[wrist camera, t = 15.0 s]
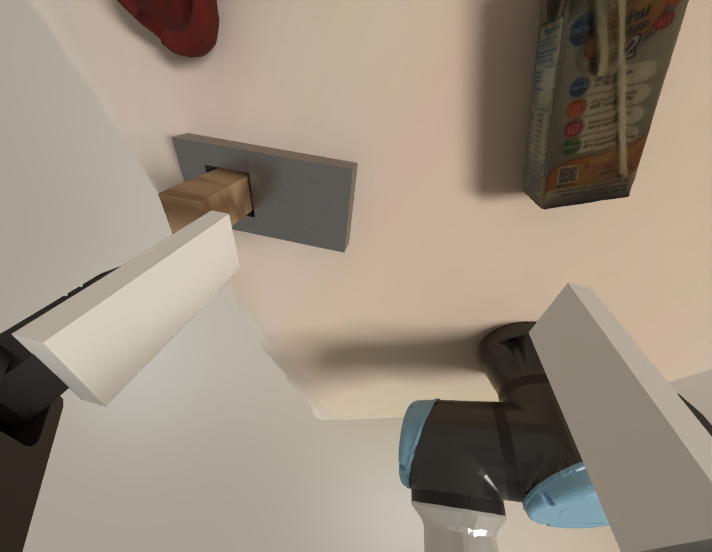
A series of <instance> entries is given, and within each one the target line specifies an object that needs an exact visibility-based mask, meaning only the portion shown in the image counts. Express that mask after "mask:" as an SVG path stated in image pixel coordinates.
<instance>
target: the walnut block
mask: <svg viewBox="0 0 712 552" xmlns="http://www.w3.org/2000/svg"><path fill="white" fill-rule="evenodd" d="M158 194H159V197H160V200H161V203H162V205H163V208H164V211H165V214H166V216H167V219H168V222H169V225H170V228H171V230H172V233H173V234H174V233H176V232H177V231H179V230H181V229H182V228H184V227H186V226H187V225H189V224H190V223H192V222H194V221H195V220H197V219H199V218H200V217H202V216H203V215H205V214H207V213H208V212H210V211H217V212H222V213H227V214H229V216H230V221H231V226H233V225H234V224H235V223H237V222H238V221H239V220H241V219H242V218H243V217H245V216H246V215H247V214H249V213H250V212H251V211H252V210H254V207H253V199H252V192H251V184H250V177H249V173H246V172H241V171H235V170H230V169H225V168H217V169H214V170H212V171H210V172H207V173H205V174H203V175H200V176H198V177H196V178H193V179H191V180H189V181H186V182H184V183H182V184H179V185H177V186H175V187H172V188H170V189H168V190H165V191H163V192H161V193H158Z"/></svg>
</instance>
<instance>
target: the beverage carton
mask: <svg viewBox="0 0 712 552" xmlns="http://www.w3.org/2000/svg"><path fill="white" fill-rule="evenodd" d="M688 1H689V0H541V14H540V25H539V35H538V45H537V54H536V65H535V76H534V86H533V96H532V106H531V115H530V125H529V136H528V146H527V158H526V170H525V187H524V192H525V193H526V194H527V195H528V196H529V197H530V198H531V199H532V200H533V201H534V202H535V203H536V204H537V205H538V206H540V208H542V209H549V208H555V207H561V206H570V205H577V204H584V203H590V202H595V201H600V200H609V199H616V198H623V197H628V196H629V193H630V190H631V186H632V184H633V182H634V179H635V176H636V172H637V169H638V165H639V162H640V159H641V156H642V152H643V149H644V146H645V143H646V139H647V136H648V133H649V130H650V126H651V123H652V119H653V115H654V112H655V109H656V106H657V102H658V99H659V96H660V92H661V89H662V86H663V83H664V79H665V76H666V73H667V70H668V67H669V64H670V60H671V57H672V53H673V50H674V47H675V44H676V41H677V37H678V34H679V31H680V28H681V24H682V21H683V18H684V14H685V11H686V7H687V4H688Z"/></svg>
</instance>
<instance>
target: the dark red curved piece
mask: <svg viewBox="0 0 712 552" xmlns="http://www.w3.org/2000/svg"><path fill="white" fill-rule="evenodd" d="M117 1H118V2H119V3H120V4H121V5H122V6H123V7H124V8H125V9H126V10H127V11H128V12H129V13H130V14H132V15H133V16H134V17H135V18H136V19H137V20H138V21H139V22H140V23H141V24H142V25H143V26H145V27H146V28H148V29H149V30H150V31H152V32H153V33H154V34H155V35H157V36H158V37H159V38H160V39H161V42H162V44H163V45H165V46H166V47H167V48H168V49H170V50H171V51H172V52H174V53H176V54H178V55H182V56H187V57H201V56H204V55H205V54H207V53H208V52H209V51H210V50H211V49H212V48H213V47H214V45H215V44H216V40H217V35H218V28H219V15H218V8H217V0H117Z"/></svg>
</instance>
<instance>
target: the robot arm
mask: <svg viewBox="0 0 712 552" xmlns="http://www.w3.org/2000/svg"><path fill="white" fill-rule="evenodd" d="M239 269H240V266H239V261H238V256H237V251H236V246H235V241H234V236H233V231H232V226H231V221H230V216H229V214H227V213H222V212H217V211H210V212H208V213H207V214H205V215H203V216H202V217H200V218H199V219H197V220H195V221H194V222H192V223H190V224H189V225H187V226H186V227H184V228H182V229H181V230H179V231H177V232H176V233H174V234H173V235H171V236H169V237H168V238H166V239H165V240H163V241H161V242H160V243H158V244H156V245H155V246H153V247H152V248H150V249H148V250H147V251H145V252H144V253H142V254H140V255H139V256H137V257H135V258H134V259H132V260H131V261H129V262H127V263H126V264H124V265H123V266H120V267H117V268H115V269H112V270H109V271H107V272H104V273H102V274H99V275H98V276H96V277H94V278H93V279H91V280H89V281H88V282H86V283H85V284H83V286H82V287H78V288H76V289H74V290H73V291H71V292H69V293H68V296H63V297H61V298H59V299H58V300H56V301H54V302H53V303H51V304H49V305H48V306H46V307H45V308H43V309H41V310H40V311H38V312H36V313H35V314H33V315H31V316H30V317H28V318H26V319H25V320H23V321H21V322H20V323H18V324H16V325H15V326H13V327H11V328H10V329H8V330H6V331H5V332H3V333H1V334H0V552H22V551H23V548H24V544H25V540H26V537H27V533H28V530H29V526H30V523H31V519H32V515H33V512H34V508H35V505H36V501H37V498H38V494H39V491H40V487H41V484H42V480H43V476H44V473H45V469H46V466H47V462H48V459H49V455H50V452H51V448H52V444H53V441H54V437H55V433H56V430H57V427H58V423H59V419H60V415H61V412H62V409H63V398H61V397H60V395H61V394H62V393H64V392H65V391H66V390H67V389H68V388H70V390H72V391H73V392H74V393H75V394H76V395H77V396H78V397H79V398H80V399H82V400H85V401H88V402H92V403H95V404H99V405H102V406H107V405H108V404H109V403H110V402H111V401H112V400H113V399H114V398H115V397H116V396H117V395H118V394H119V393H120V391H121V390H122V389H123V388H124V387H125V386H126V385H127V384H128V383H129V382H130V381H131V380H132V379H133V378H134V377H135V376H136V375H137V374H138V373H139V372H140V371H141V370H142V369H143V368H144V367H145V366H146V365H147V364H148V363H149V362H150V361H151V359H152V358H153V357H155V355H156V354H157V353H158V352H159V351H160V350H161V349H162V348H163V347H164V346H165V345H166V344H167V343H168V342H169V341H170V340H171V339H172V338H173V337H174V336H175V335H176V334H177V333H178V332H179V331H180V330H181V329H182V328H183V327H184V325H186V324H187V322H188V321H189V320H190V319H191V318H192V317H193V316H194V315H195V314H196V313H197V312H198V311H199V310H200V309H201V308H202V307H203V306H204V305H205V304H206V303H207V302H208V301H209V300H210V299H211V298H212V297H213V295H215V294H216V292H218V291H219V289H220V288H221V287H222V286H223V285H224V284H225V283H226V282H227V281H228V280H229V279H230V278H231V277H232V276H233V275H234V274H235V273H236V272H237V271H238V270H239ZM478 357H479V362H480V366H481V368H482V370H483V371H484V373H485V374H486V376H487V377H488V379H489V381H490V383H491V384H492V386H493V387H494V389H495V391H496V392H497V394H498V397H499V401H500V402H488V401H455V400H440V399H434V400H418V401H414V402H413V403H411V404H410V406H409V407H408V409H407V411H406V413H405V416H404V419H403V424H402V429H401V435H400V443H399V462H400V464H399V474H400V479H401V482H402V484H403V485H405V486H406V487H407V488H411V490H412V505H413V507H414V508H415V510H416V511H417V513H418V514H419V515H420V517H421V519H422V521H423V523H424V546H425V552H498V546H497V540H496V535H497V532H498V530H499V529H500V528H501V526H502V525H503V523H504V522H505V521H506V514H505V508H504V503H503V501H504V500H509V501H516V502H522V503H523V508H524V510H525V511H526V513H527V515H528V516H529V518H530V519H532V520H533V521H535V522H537V523H539V524H546V525H548V526H551V527H558V528H592V527H601V526H607V525H610V527H611V529H612V532H613V534H614V536H615V539H616V541H617V543H618V546H619V548H620V551H621V552H712V425H711V424H710V423H709V422H708V420H707V419H706V418H705V417H704V416H703V415H702V414H701V413H700V412H699V411H698V410H696V409H695V408H694V407H693V406H692V405H691V404H690V403H689V402H687V401H686V400H685V399H684V398H683V397H682V396H680V395H679V394H677V393H676V392H675V391H674V390H673V388H672V387H671V386H670V385H669V383H668V382H667V381H666V380H665V378H664V377H663V376H662V375H661V374H660V372H659V371H658V370H657V369H656V367H655V366H654V365H653V364H652V362H651V361H650V360H649V359H648V358H647V356H646V355H645V354H644V353H643V351H642V350H641V349H640V348H639V346H638V345H637V344H636V343H635V342H634V340H633V339H632V338H631V337H630V335H629V334H628V333H627V332H626V330H625V329H624V328H623V327H622V326H621V324H620V323H619V322H618V321H617V319H616V318H615V317H614V316H613V314H612V313H611V312H610V311H609V310H608V308H607V307H606V306H605V305H604V303H603V302H602V301H601V300H600V298H599V297H598V296H597V295H596V294H595V292H594V291H593V290H592V289H591V287H586V286H581V285H577V284H572V283H568V284H567V285H566V286H565V287H564V289H563V290H562V291H561V292H560V294H559V295H558V296H557V297H556V299H555V300H554V301H553V302H552V304H551V305H550V306H549V307H548V309H547V310H546V311H545V313H544V314H543V315H542V316H541V318H540V319H539V320H538V321H537V323H534V322H526V323H516V324H511V325H508V326H504V327H501V328H499V329H497V330H495V331H493V332H491V333H490V334H488V335H487V336H486V337H485V338H484V339H483V340H482V342H481V343H480V345H479V348H478Z"/></svg>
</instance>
